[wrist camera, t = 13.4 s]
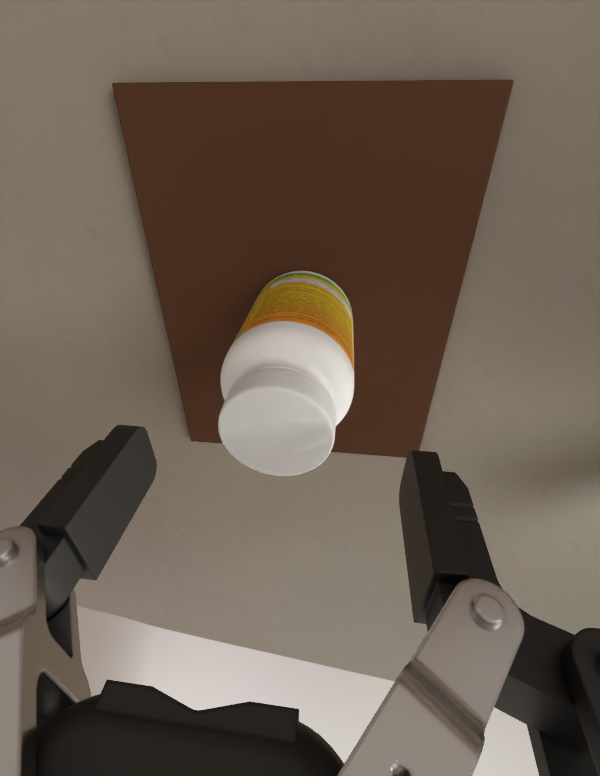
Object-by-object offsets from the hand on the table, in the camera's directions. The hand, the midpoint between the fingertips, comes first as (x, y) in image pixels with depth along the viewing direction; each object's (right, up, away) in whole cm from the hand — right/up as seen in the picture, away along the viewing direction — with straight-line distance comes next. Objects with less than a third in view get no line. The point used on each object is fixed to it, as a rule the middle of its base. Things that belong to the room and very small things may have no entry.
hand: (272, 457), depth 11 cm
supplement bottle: (+1, +6, +9) cm, 11 cm away
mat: (+1, +6, +9) cm, 11 cm away
